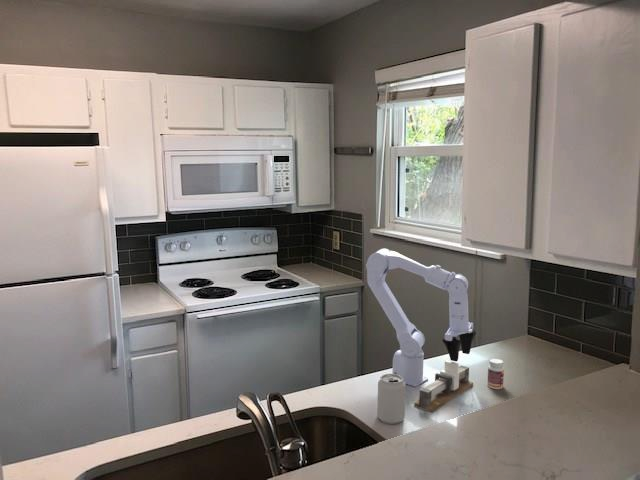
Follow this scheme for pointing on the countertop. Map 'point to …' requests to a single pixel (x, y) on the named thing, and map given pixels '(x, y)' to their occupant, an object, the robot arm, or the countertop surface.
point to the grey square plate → (447, 382)
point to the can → (391, 398)
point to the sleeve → (451, 373)
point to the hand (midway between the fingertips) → (460, 356)
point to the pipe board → (434, 396)
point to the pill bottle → (495, 374)
